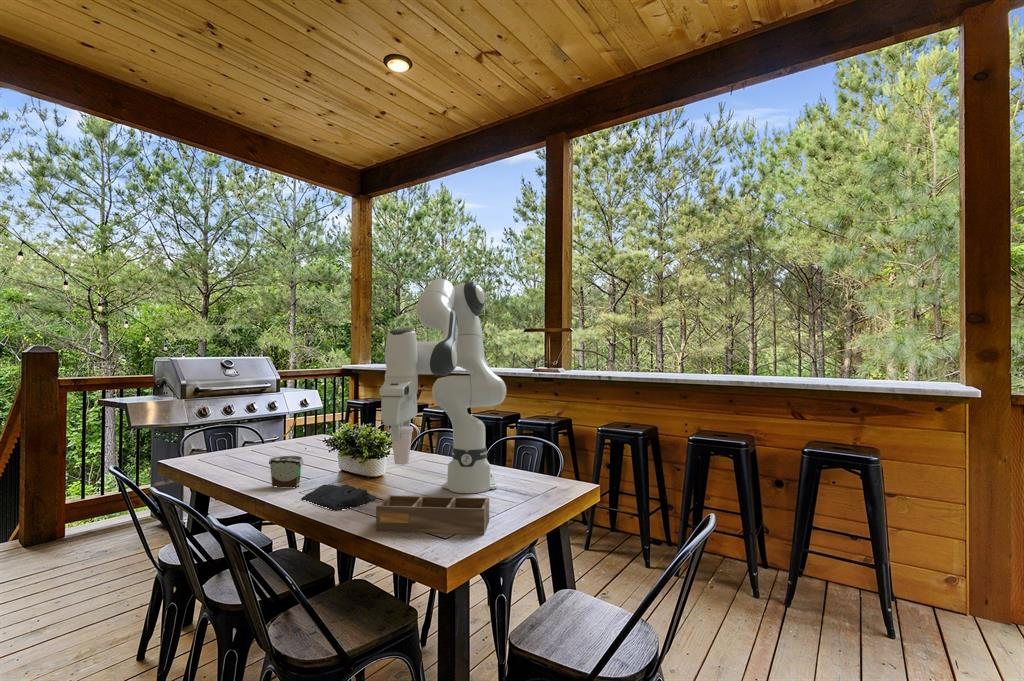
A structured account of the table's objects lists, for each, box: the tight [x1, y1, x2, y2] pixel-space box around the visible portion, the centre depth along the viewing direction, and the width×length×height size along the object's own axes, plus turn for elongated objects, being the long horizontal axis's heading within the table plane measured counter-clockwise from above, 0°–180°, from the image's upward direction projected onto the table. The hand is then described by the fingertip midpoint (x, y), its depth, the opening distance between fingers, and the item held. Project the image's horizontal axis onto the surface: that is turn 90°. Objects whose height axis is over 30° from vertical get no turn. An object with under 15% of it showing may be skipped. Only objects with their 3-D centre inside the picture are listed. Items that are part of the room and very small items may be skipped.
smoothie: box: [389, 423, 414, 466], centre depth 136 cm, size 6×6×14 cm
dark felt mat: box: [300, 484, 377, 511], centre depth 159 cm, size 15×22×5 cm
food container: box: [268, 455, 304, 489], centre depth 176 cm, size 12×6×10 cm, turn 80°
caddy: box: [375, 495, 490, 536], centre depth 135 cm, size 10×29×6 cm, turn 85°
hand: (401, 437), depth 136 cm, fingers closed on smoothie, 6 cm apart
